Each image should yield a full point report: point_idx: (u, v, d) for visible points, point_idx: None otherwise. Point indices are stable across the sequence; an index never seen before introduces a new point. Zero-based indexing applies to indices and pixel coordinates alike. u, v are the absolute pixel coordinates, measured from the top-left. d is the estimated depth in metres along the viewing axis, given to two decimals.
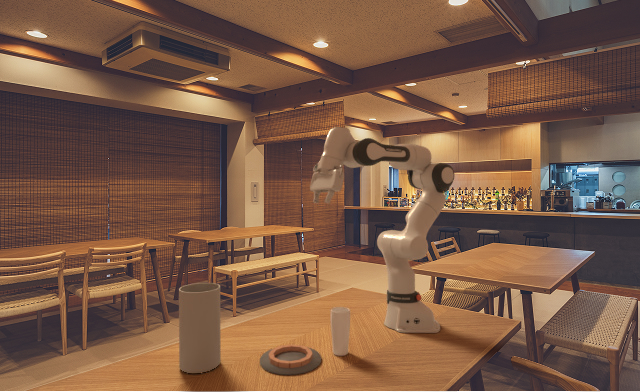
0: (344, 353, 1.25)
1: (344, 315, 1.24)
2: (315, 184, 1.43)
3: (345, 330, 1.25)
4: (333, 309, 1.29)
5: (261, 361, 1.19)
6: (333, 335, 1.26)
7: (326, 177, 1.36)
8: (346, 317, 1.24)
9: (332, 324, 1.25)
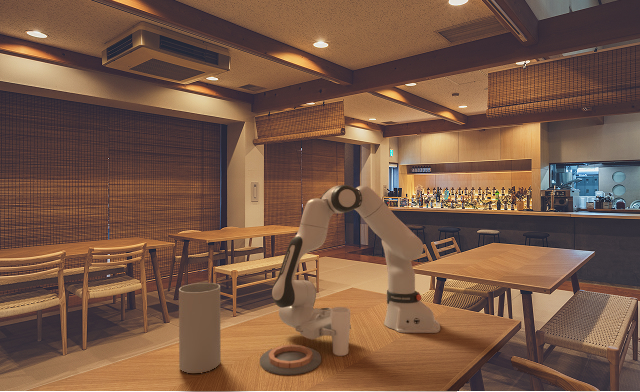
0: (344, 353, 1.25)
1: (344, 315, 1.24)
2: None
3: (345, 330, 1.25)
4: (333, 309, 1.29)
5: (261, 361, 1.19)
6: None
7: None
8: (346, 317, 1.24)
9: (332, 324, 1.25)
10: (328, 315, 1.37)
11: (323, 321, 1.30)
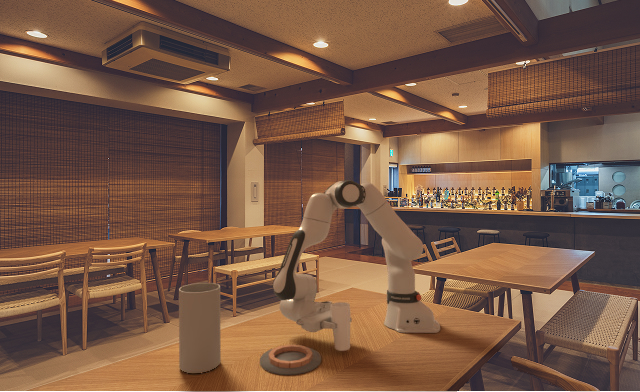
0: (346, 348, 1.25)
1: (344, 310, 1.24)
2: None
3: (346, 324, 1.25)
4: (333, 305, 1.29)
5: (261, 361, 1.19)
6: (334, 330, 1.26)
7: None
8: (346, 311, 1.25)
9: (332, 319, 1.26)
10: (329, 308, 1.37)
11: (323, 314, 1.30)
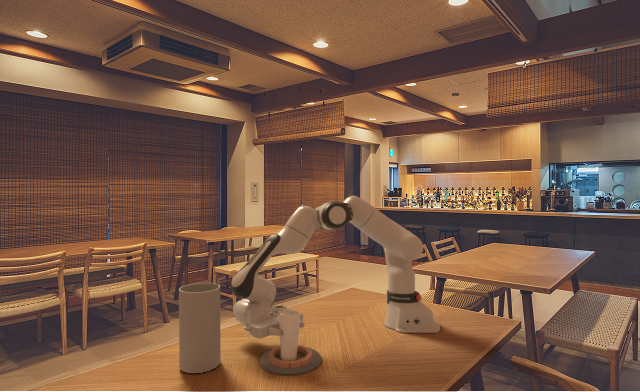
0: (292, 359, 1.19)
1: (293, 318, 1.18)
2: None
3: (293, 334, 1.18)
4: (283, 312, 1.23)
5: (261, 361, 1.19)
6: (281, 339, 1.19)
7: None
8: (294, 320, 1.19)
9: (280, 327, 1.19)
10: None
11: (273, 320, 1.25)
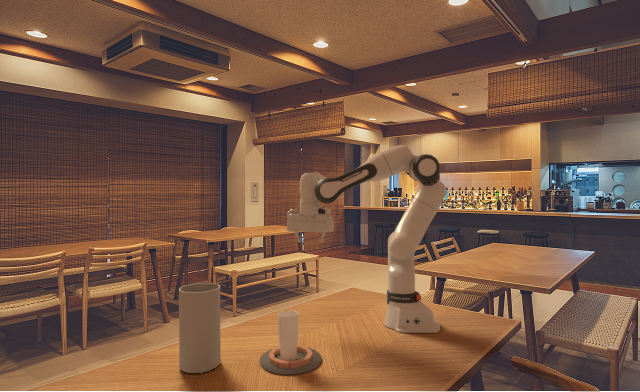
0: (292, 359, 1.19)
1: (291, 319, 1.18)
2: None
3: (292, 335, 1.18)
4: (281, 313, 1.23)
5: (261, 361, 1.19)
6: (280, 340, 1.19)
7: None
8: (293, 321, 1.18)
9: (279, 329, 1.19)
10: (318, 218, 1.56)
11: (304, 225, 1.57)
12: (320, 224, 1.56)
